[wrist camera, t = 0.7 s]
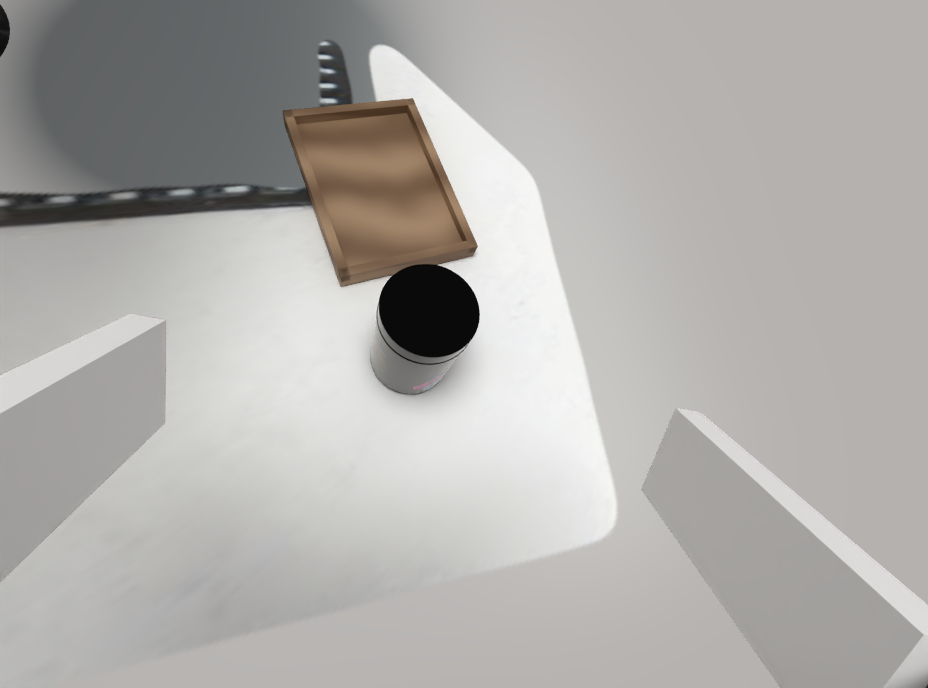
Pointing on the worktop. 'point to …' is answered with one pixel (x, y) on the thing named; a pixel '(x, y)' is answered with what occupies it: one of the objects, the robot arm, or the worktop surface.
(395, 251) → the tray
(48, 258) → the worktop surface
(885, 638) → the robot arm
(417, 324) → the supplement container
